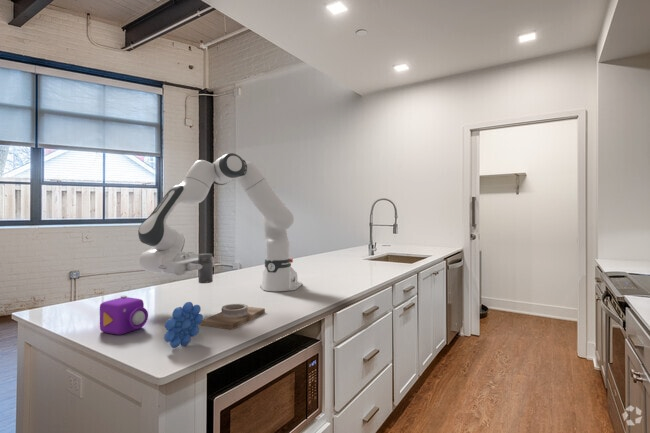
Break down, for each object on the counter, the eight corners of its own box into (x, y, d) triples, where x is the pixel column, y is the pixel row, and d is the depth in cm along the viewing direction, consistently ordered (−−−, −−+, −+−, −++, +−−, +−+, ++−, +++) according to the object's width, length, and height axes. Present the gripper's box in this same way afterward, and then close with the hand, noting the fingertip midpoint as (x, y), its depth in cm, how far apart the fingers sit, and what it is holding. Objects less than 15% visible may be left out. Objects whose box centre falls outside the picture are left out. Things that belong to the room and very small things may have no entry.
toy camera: (133, 338, 107) (132, 304, 106) (93, 335, 109) (93, 302, 109) (157, 326, 117) (156, 295, 117) (120, 323, 120) (120, 293, 120)
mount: (237, 309, 137) (237, 298, 137) (264, 312, 133) (264, 301, 133) (201, 324, 119) (201, 312, 119) (231, 329, 114) (231, 316, 114)
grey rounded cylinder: (204, 280, 133) (204, 253, 133) (215, 281, 132) (215, 253, 131) (195, 282, 129) (195, 254, 129) (206, 283, 127) (206, 255, 127)
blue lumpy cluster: (193, 336, 108) (193, 296, 108) (207, 341, 104) (207, 299, 104) (155, 348, 99) (155, 304, 98) (169, 354, 95) (169, 308, 94)
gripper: (154, 258, 125) (186, 260, 120) (196, 251, 144) (225, 253, 139) (155, 276, 125) (186, 279, 120) (196, 267, 144) (225, 269, 139)
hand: (207, 265), depth 130 cm, fingers closed on grey rounded cylinder, 5 cm apart
